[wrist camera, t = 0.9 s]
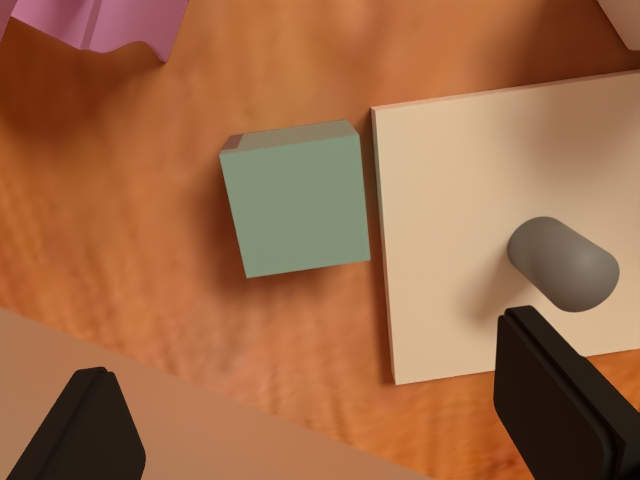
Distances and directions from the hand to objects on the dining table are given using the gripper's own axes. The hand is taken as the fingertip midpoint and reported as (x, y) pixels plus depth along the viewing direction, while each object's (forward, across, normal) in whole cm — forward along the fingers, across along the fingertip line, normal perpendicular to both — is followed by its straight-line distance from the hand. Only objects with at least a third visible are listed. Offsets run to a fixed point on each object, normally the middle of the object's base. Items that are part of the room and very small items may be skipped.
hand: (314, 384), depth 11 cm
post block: (+18, -15, +6) cm, 25 cm away
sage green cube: (+19, 0, 0) cm, 19 cm away
